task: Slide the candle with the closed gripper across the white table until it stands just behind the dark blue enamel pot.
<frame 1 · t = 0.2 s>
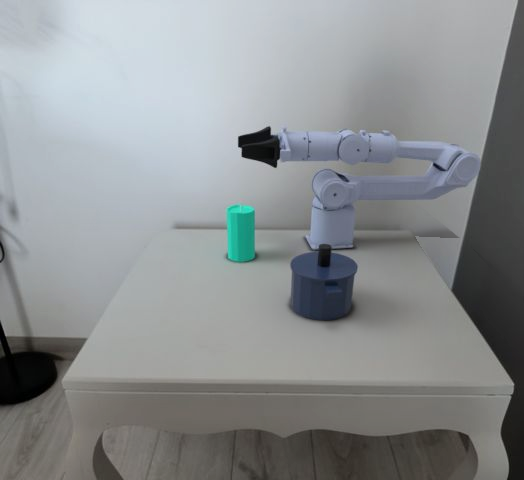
hand: (239, 146, 104), 22 cm above the table, tool horizontal, fingers open, 7 cm apart
candle: (241, 256, 112), on the table
pot lid: (323, 267, 89), point 7 cm above the table, touching pot
pot: (320, 305, 93), on the table
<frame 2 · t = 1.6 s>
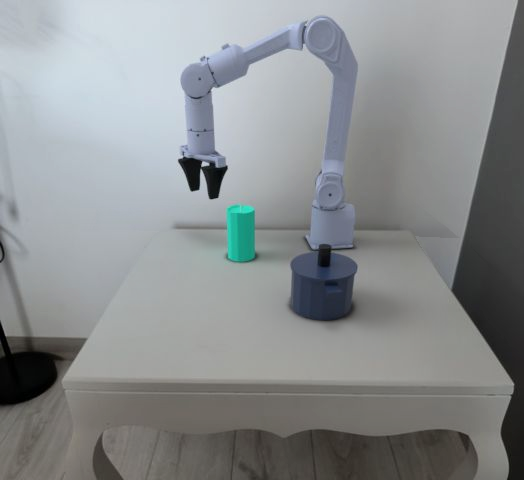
hand: (204, 194, 114), 10 cm above the table, tool pointing down, fingers open, 7 cm apart
nothing on the table moved.
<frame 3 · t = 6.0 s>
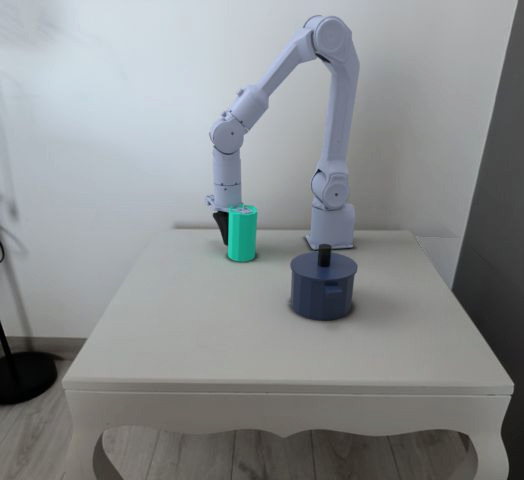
hand: (229, 244, 113), 1 cm above the table, tool pointing down, fingers closed
candle: (241, 255, 111), on the table, touching gripper
everything else where it was.
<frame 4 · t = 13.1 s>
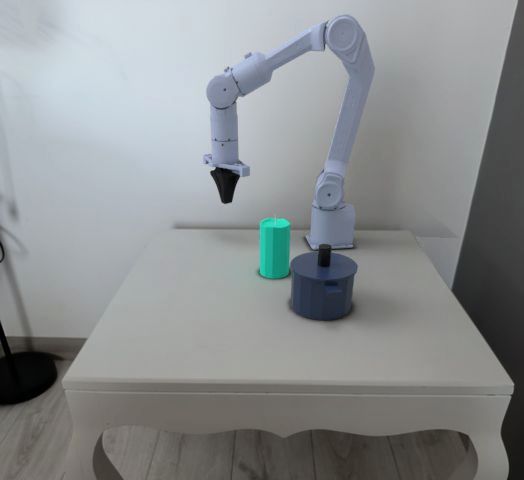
hand: (226, 202, 116), 8 cm above the table, tool pointing down, fingers closed
candle: (274, 273, 105), on the table
everything else where it was.
at the end: candle inside the target area on the table beside the pot (1.6 cm from its centre), on the table; candle tilted 0°; candle moved 10.7 cm from its start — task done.
